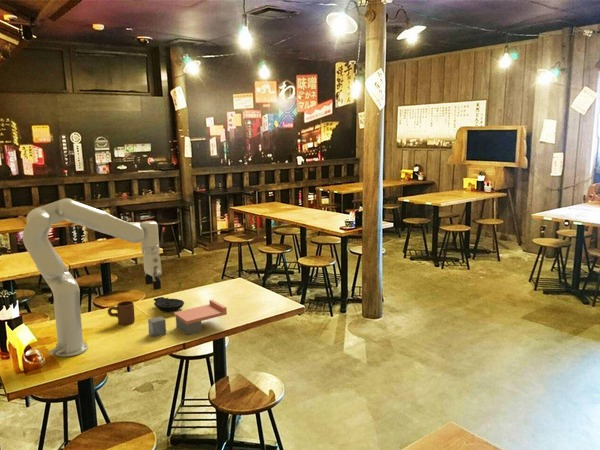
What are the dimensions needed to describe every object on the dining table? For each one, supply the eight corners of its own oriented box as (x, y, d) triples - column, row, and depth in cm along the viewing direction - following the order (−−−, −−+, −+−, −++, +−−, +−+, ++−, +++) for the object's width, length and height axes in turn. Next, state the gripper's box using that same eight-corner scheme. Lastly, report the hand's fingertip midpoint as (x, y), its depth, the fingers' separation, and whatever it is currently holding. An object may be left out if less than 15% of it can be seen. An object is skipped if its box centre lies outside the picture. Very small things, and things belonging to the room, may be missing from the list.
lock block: (153, 337, 219) (152, 322, 218) (149, 334, 223) (148, 319, 222) (166, 334, 223) (165, 319, 222) (162, 330, 227) (161, 316, 226)
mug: (111, 328, 230) (109, 309, 228) (106, 323, 236) (105, 304, 234) (137, 322, 236) (135, 304, 235) (132, 318, 243) (130, 299, 241)
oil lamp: (171, 301, 266) (171, 292, 265) (190, 311, 252) (189, 301, 251) (145, 308, 257) (144, 299, 256) (163, 318, 242) (162, 308, 241)
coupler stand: (187, 336, 220) (186, 317, 218) (174, 326, 231) (173, 308, 229) (227, 325, 232) (226, 307, 230) (213, 317, 243) (212, 299, 241)
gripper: (166, 251, 214) (168, 289, 217) (151, 244, 228) (154, 280, 231) (149, 254, 210) (152, 293, 213) (135, 247, 223) (138, 283, 226)
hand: (153, 286), depth 222 cm, fingers open, 9 cm apart
